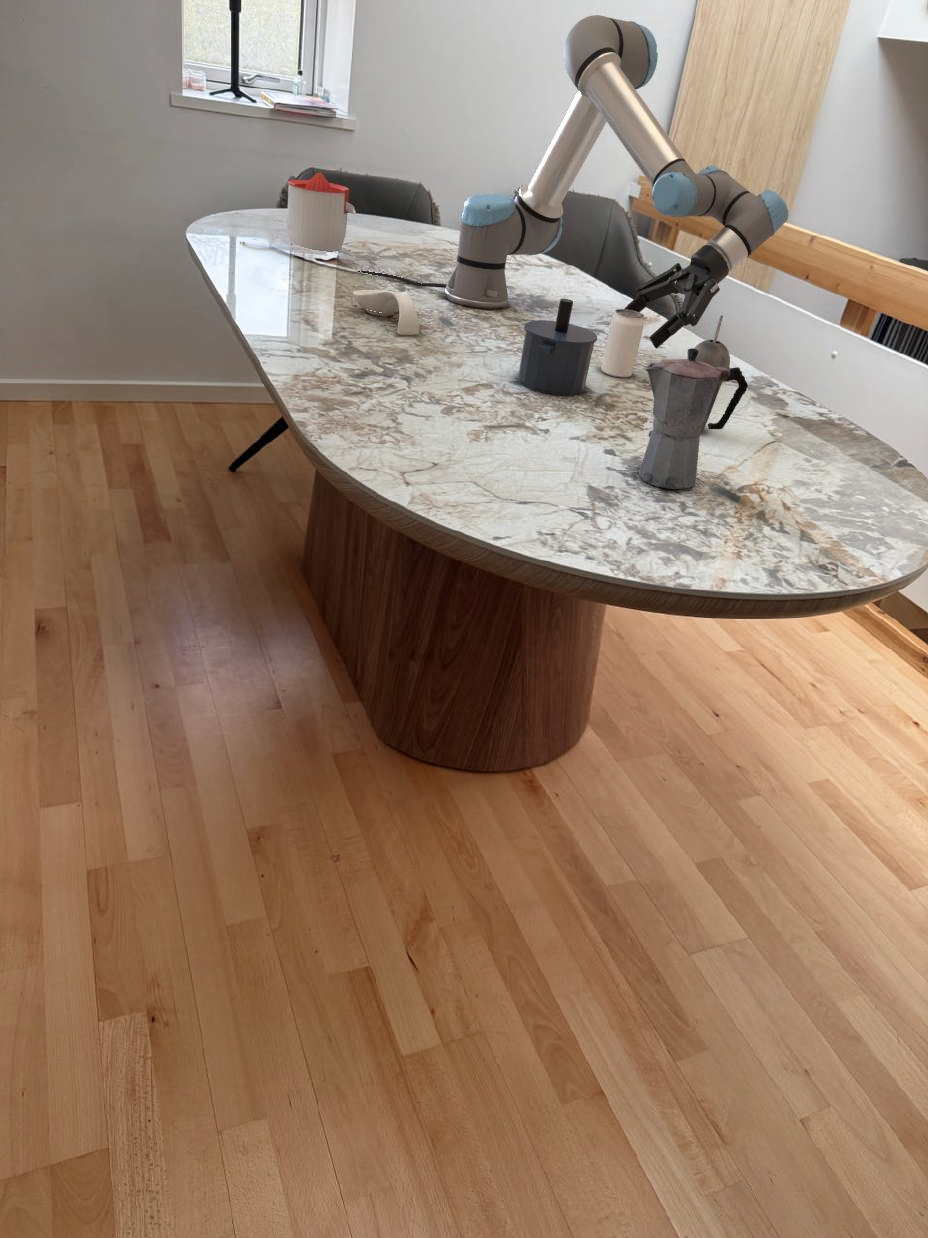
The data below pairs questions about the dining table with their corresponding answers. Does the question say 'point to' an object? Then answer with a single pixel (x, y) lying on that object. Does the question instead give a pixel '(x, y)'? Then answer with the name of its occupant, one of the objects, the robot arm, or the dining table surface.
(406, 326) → the beige curved piece
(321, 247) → the citrus juicer
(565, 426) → the dining table surface
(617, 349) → the can
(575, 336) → the pot lid
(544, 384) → the pot
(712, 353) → the beverage cup
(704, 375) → the moka pot
